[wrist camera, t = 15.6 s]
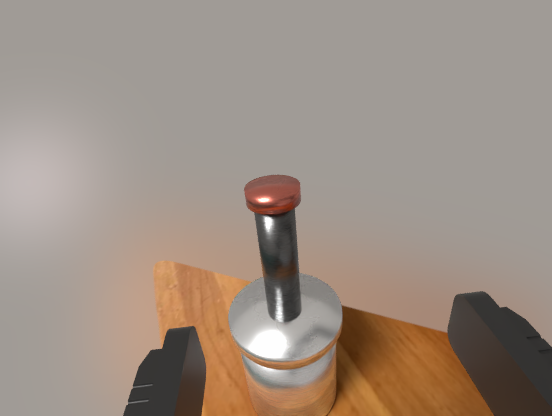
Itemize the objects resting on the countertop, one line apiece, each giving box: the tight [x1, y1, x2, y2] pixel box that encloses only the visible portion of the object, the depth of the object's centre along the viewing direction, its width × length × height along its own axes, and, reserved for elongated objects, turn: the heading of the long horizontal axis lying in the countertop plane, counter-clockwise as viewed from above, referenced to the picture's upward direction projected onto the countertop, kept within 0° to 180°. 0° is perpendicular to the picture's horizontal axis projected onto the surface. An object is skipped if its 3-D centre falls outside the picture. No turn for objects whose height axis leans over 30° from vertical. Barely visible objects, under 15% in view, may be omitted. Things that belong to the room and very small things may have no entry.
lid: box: [228, 175, 342, 369], centre depth 27 cm, size 10×10×13 cm
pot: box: [241, 343, 336, 416], centre depth 33 cm, size 9×9×10 cm
